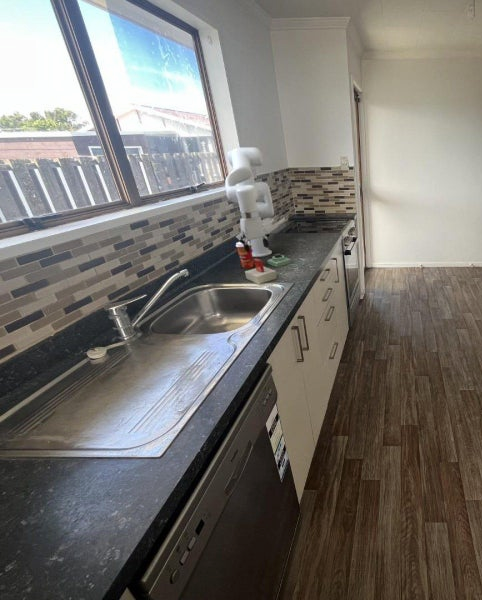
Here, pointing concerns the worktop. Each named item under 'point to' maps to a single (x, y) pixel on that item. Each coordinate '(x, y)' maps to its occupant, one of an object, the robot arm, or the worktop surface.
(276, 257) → the button
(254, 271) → the block
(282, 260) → the switch block
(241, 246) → the paper cup
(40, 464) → the worktop surface
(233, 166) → the robot arm
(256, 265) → the tap handle
